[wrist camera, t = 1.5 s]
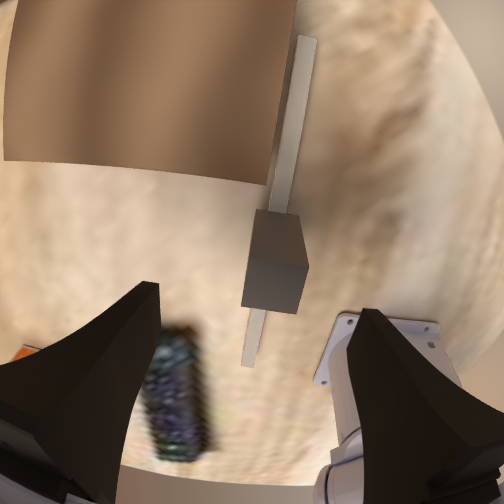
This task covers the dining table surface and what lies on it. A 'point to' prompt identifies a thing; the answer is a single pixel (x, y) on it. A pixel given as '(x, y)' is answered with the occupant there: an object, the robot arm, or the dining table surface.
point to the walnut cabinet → (148, 84)
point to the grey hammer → (279, 219)
